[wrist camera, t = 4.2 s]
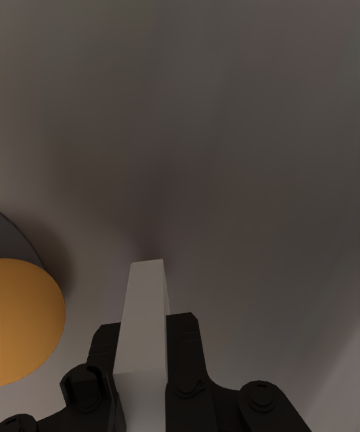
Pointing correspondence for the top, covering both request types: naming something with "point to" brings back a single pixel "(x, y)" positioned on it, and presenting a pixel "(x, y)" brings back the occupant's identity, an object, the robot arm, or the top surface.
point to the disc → (16, 244)
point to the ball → (27, 318)
